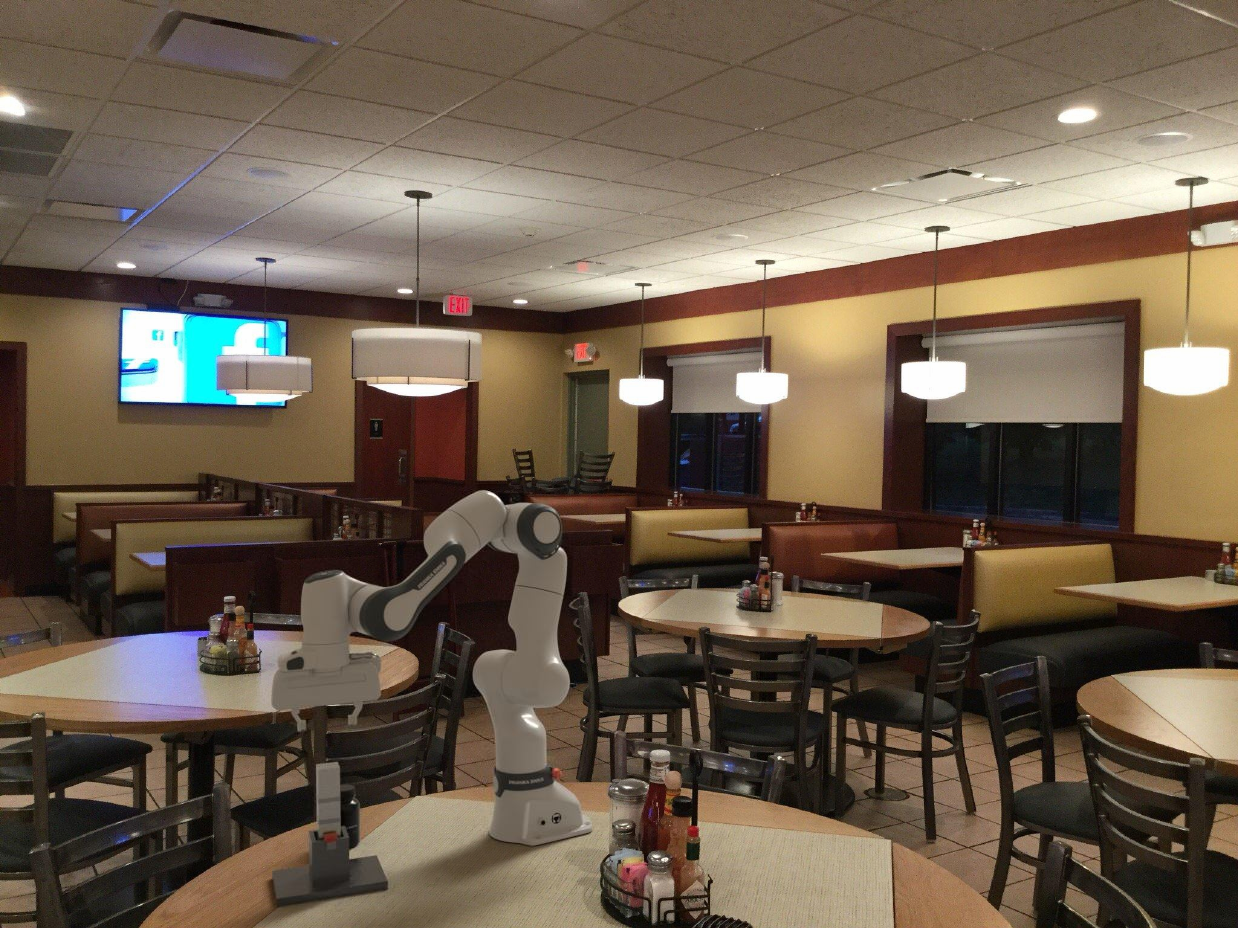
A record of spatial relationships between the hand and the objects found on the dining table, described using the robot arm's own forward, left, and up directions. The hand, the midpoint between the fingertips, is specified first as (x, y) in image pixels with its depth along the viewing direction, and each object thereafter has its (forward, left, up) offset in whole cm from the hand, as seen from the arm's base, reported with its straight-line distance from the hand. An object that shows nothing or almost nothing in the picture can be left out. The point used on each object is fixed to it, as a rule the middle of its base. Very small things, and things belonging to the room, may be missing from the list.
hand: (327, 727), depth 196 cm
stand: (0, 0, -30) cm, 30 cm away
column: (0, 0, -23) cm, 23 cm away
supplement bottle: (-5, -20, -30) cm, 37 cm away
